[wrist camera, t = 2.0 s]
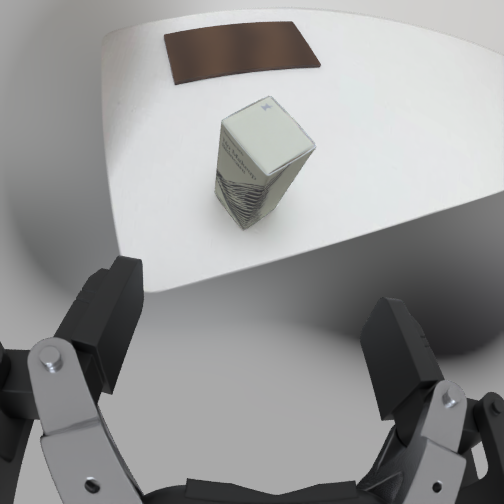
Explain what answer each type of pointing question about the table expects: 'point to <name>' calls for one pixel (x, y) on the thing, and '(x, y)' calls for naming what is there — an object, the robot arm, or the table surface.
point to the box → (258, 159)
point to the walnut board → (237, 50)
